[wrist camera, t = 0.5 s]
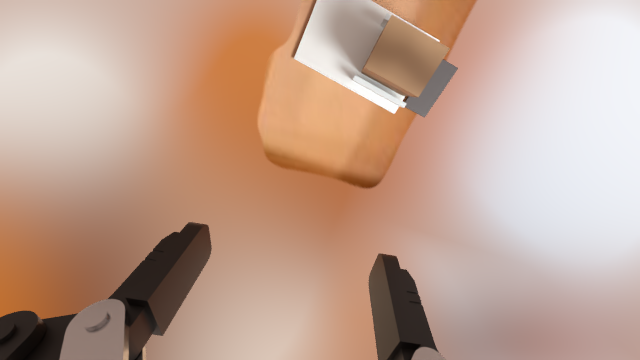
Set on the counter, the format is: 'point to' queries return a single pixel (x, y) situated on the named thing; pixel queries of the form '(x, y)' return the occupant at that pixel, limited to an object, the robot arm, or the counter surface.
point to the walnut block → (404, 58)
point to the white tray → (360, 52)
